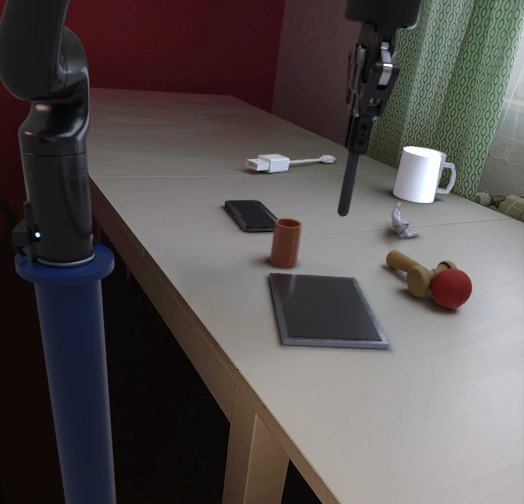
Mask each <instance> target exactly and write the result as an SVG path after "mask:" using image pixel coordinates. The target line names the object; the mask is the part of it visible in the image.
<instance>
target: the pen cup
mask: <svg viewBox="0 0 524 504" xmlns="http://www.w3.org/2000/svg"><path fill="white" fill-rule="evenodd" d="M302 229H303V224H302V222H301V221H299V220H297V219H293V218H290V217H289V218H287V217H280V218H278V219H277V220H275V223H274V231H272V240H271V248H270V258H269V259H270V263H271V265H272V266H275V267H277V268H282V269H291V268H295V267H296V266H297V263H298V257H299V252H300V242H301V236H302Z"/></svg>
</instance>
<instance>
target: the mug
mask: <svg viewBox="0 0 524 504" xmlns="http://www.w3.org/2000/svg"><path fill="white" fill-rule="evenodd" d="M401 153H402V154H401V157H400V162H399V165H398V170H397V175H396V180H395V182H394V186H393V187H394V188H393V191H392V194H393V195H394V196H395V197H397V198H399V199H401V200H404V201H407V202H410V203H411V202H412V203H420V204H429V203H433V202H435V198H436V196H437V194H443V195H449V193H450V192H451V190H452V189H453V187H454V186H455V182H456V178H457V172H456V165H455V164H454V163H453V162H447V161H446V160H447V154H446V153H445V152H443V151H441V150H437V149H433V148H428V147H423V146H404V147H403V148H402V152H401ZM444 168H447V169H450V171H451V176H450V180H449V182H448V185H447V186H446V187H445V188H441V187H439V184H440V181H441V177H442V174H443V170H444Z"/></svg>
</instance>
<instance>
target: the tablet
mask: <svg viewBox="0 0 524 504" xmlns="http://www.w3.org/2000/svg"><path fill="white" fill-rule="evenodd" d="M268 279H269V284H270V288H271V294H272V298H273V303H274V307H275V313H276V318H277V323H278V328H279V333H280V337H281V342H282V345H284V346H302V347H303V346H307V347H329V348H353V349H354V348H355V349H374V350H376V349H377V350H388V349H389V346H390V343H389V341H388V339H387V337H386V335H385V334H384V331H383V330H382V328H381V326H380V323H379V322H378V320H377V317H376V316H375V314H374V312H373V310H372V308H371V306H370V303H369V302H368V300H367V299H366V296H365V294H364V292H363V290H362V289H361V287H360V285H359V283H358V281H357V279H356V277H350V276H336V275H335V276H333V275H318V274H301V273H299V274H298V273H284V272H283V273H282V272H269V273H268Z"/></svg>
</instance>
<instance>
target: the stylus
mask: <svg viewBox="0 0 524 504" xmlns="http://www.w3.org/2000/svg"><path fill="white" fill-rule="evenodd" d="M360 160H361V155H358V154H351V153H349V152H348V154H347V159H346V165H345V170H344V174H343V179H342V185H341V188H340V189H341V190H340V194H339V195H340V196H339V199H338V205H337V209H336V212H337V214H338V216H339V217H342V218H343V217H344V218H345V217H347V216H348V215H349V213H350V208H351V202H352V198H353V193H354V188H355V184H356V179H357V174H358V170H359V165H360Z"/></svg>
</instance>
